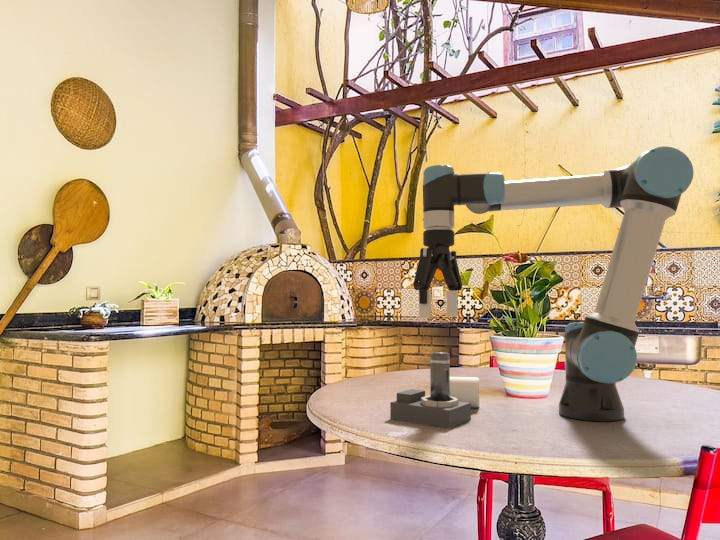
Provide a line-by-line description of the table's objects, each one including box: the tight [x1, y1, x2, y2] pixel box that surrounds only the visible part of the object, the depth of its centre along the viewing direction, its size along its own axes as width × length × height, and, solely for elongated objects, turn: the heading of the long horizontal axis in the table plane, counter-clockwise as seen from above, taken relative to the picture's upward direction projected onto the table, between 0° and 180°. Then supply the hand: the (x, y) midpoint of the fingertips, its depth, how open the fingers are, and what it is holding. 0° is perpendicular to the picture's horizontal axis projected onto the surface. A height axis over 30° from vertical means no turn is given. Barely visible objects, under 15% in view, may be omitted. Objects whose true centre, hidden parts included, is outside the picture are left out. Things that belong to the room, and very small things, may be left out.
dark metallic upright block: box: [429, 351, 451, 401], centre depth 135 cm, size 5×5×12 cm
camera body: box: [389, 388, 472, 429], centre depth 136 cm, size 16×11×6 cm
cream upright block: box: [450, 376, 480, 409], centre depth 153 cm, size 12×10×8 cm
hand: (439, 317), depth 135 cm, fingers open, 13 cm apart
